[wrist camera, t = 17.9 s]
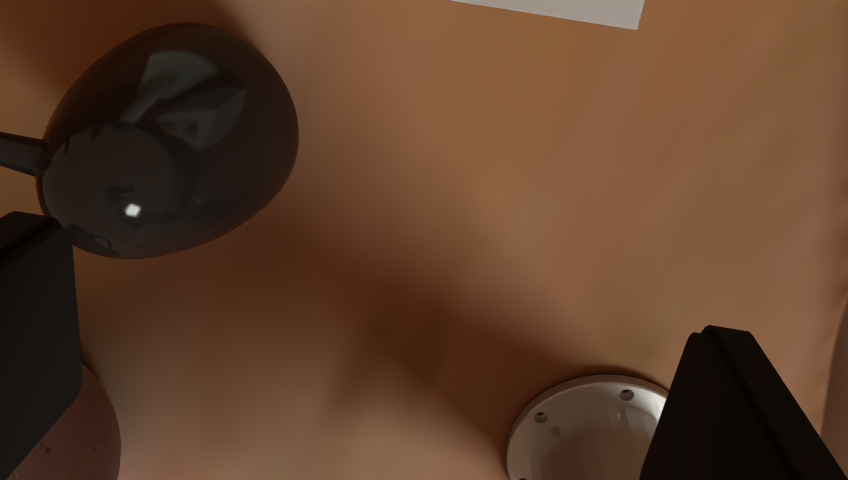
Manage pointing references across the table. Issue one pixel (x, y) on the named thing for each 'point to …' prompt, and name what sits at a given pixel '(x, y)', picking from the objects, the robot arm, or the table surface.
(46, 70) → the table surface
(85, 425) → the ceramic pitcher
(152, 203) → the pump dispenser
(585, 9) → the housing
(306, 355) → the table surface
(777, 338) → the table surface
